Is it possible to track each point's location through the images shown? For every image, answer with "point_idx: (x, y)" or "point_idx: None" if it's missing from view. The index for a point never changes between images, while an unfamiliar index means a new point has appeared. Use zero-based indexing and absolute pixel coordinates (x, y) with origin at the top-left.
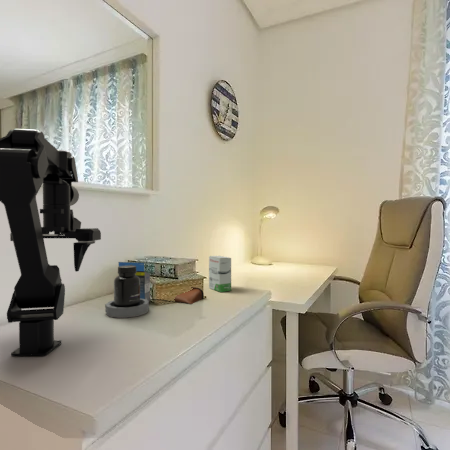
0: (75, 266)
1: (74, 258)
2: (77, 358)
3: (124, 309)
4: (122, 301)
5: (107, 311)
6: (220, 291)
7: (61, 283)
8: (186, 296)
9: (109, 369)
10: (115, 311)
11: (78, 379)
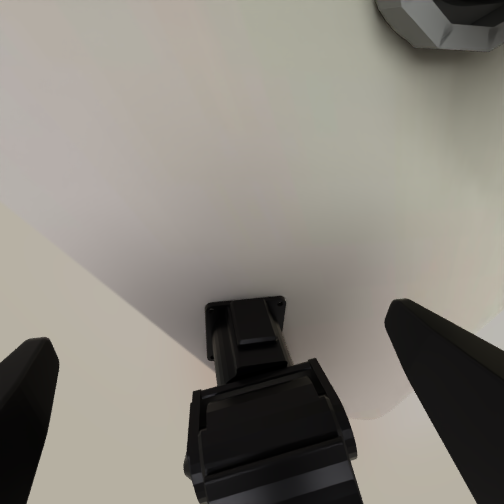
0: (411, 369)
1: (454, 454)
2: (337, 343)
3: (473, 49)
4: (499, 2)
5: (385, 3)
6: None
7: (342, 437)
8: None
9: (391, 362)
10: (427, 46)
11: (353, 386)
